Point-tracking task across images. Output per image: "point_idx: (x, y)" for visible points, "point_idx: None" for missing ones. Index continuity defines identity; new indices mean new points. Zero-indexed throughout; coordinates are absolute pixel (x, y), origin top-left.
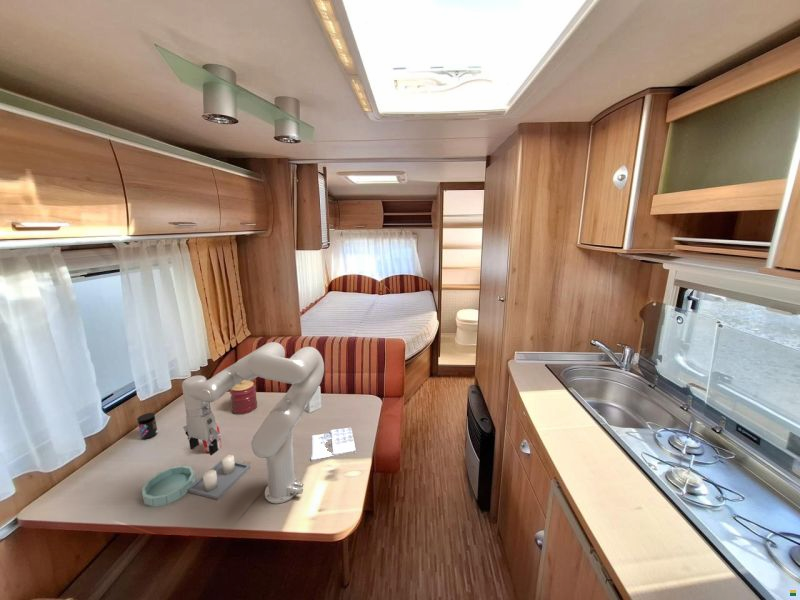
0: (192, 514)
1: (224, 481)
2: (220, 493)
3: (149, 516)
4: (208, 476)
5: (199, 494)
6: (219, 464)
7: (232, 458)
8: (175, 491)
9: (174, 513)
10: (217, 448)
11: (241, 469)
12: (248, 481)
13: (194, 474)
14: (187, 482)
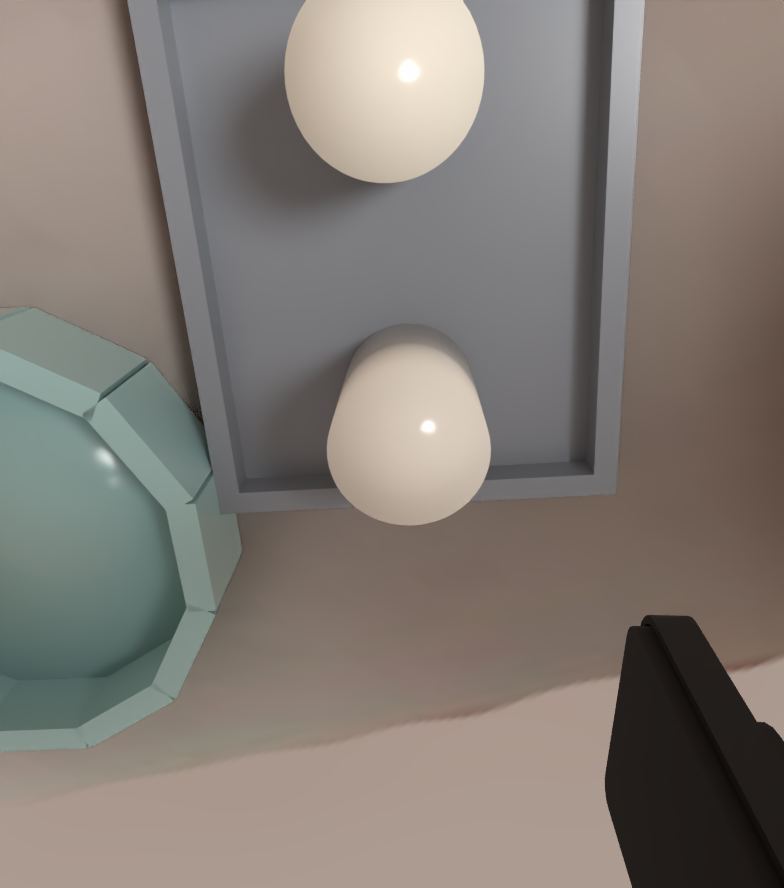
0: (491, 630)
1: (478, 271)
2: (612, 454)
3: (183, 726)
4: (430, 487)
5: None
6: (173, 64)
7: (473, 50)
8: (199, 642)
9: (338, 662)
10: (707, 666)
11: (533, 11)
12: (751, 149)
13: (116, 395)
14: (187, 526)
